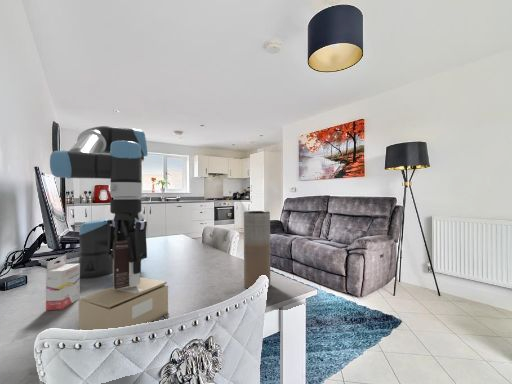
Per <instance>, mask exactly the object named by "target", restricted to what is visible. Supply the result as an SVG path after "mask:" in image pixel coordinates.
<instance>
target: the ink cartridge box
mask: <svg viewBox="0 0 512 384" xmlns="http://www.w3.org/2000/svg"><path fill="white" fill-rule="evenodd" d="M66 262H67V259H66V255H65V256H62V257H58V258H56V259H53V260H50V261H48V264H47V266H46V272H45V273H46V274H45V276H46V278H45V279H46V280H45V281H46V282H45V310H46V311H54V310H55V311H56V310H57V311H58V310H61V311H62V310H63V309H65V308H66V307H69V306H70V305H72V303H74V302H76V301H79V299H80V295H81V294H80V288H81V287H80V286H81V282H80V280H81V278H80V264H66ZM54 263H57V264H54Z"/></svg>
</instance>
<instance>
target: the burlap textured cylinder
mask: <svg viewBox="0 0 512 384" xmlns="http://www.w3.org/2000/svg"><path fill="white" fill-rule="evenodd" d="M261 275H266V276H267V277H268V279H269V288H270V287H271V212H270V211H266V210H251V211H250V210H249V211H248V210H247V211H243V282H244V283H243V284H244V288H245V289H247V288H249V287H250V286H252V285H253V284H254V283H255V282H256V280H257V279H258V278H259V276H261Z"/></svg>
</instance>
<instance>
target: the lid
mask: <svg viewBox="0 0 512 384" xmlns="http://www.w3.org/2000/svg"><path fill="white" fill-rule="evenodd" d="M167 284H168V283H167V281H165V280H160V279H153V278H148V277H141V276H140V284H139V285H136V286H133V287H129V286H128V287H123V288H118V289H115V288H114V286H110V287H108V288H105V289H102V290H100V291H97V292H94V293H91V294H88V295H85V296H82V297H80V299H81V300H83V301H86V302H90V303H93V304H97V305H100V306H104V307H108V308H110V307H112V306H114V305H117V304H119V303H122V302H124V301H126V300H129V299H131V298H134V297H136V296H138V295H141V294H143V293H146V292H148V291H150V290H153V289H155V288H158V287H160V286H162V285H167Z"/></svg>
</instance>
